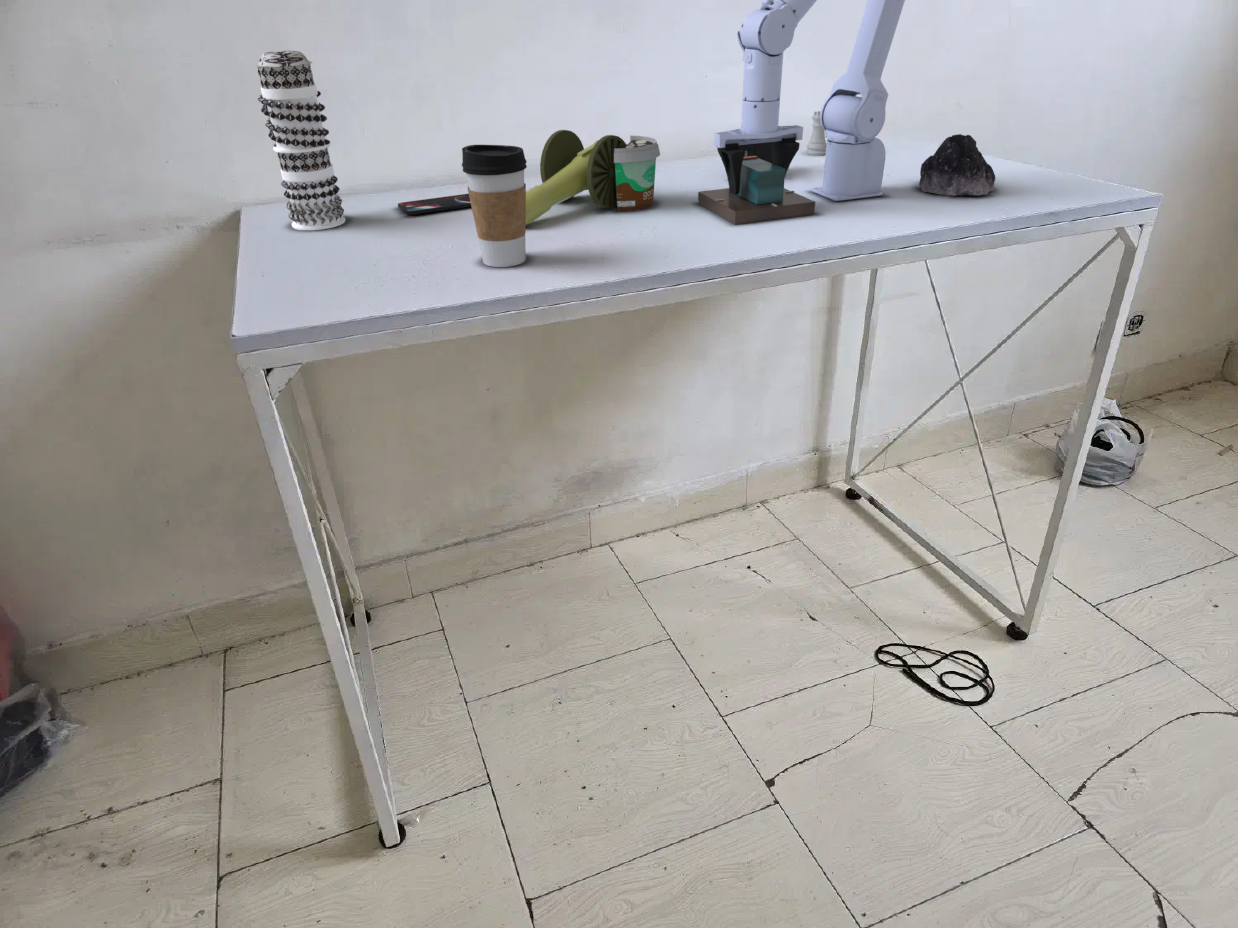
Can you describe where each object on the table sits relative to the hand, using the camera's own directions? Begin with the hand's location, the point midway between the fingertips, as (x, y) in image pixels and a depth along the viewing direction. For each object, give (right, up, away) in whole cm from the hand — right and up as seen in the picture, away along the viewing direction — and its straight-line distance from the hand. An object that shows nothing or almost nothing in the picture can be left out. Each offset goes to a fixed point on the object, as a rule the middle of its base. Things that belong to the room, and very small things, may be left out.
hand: (755, 190), depth 130 cm
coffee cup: (-38, -16, -18) cm, 45 cm away
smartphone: (-52, 0, +8) cm, 53 cm away
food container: (-18, -1, +6) cm, 19 cm away
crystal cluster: (+36, +3, +9) cm, 37 cm away
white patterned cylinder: (-71, -5, +1) cm, 72 cm away
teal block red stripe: (0, -1, 0) cm, 1 cm away
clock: (0, -3, +2) cm, 3 cm away
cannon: (-31, -2, +4) cm, 31 cm away
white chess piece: (+19, +20, +38) cm, 47 cm away
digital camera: (+3, +10, +22) cm, 25 cm away
